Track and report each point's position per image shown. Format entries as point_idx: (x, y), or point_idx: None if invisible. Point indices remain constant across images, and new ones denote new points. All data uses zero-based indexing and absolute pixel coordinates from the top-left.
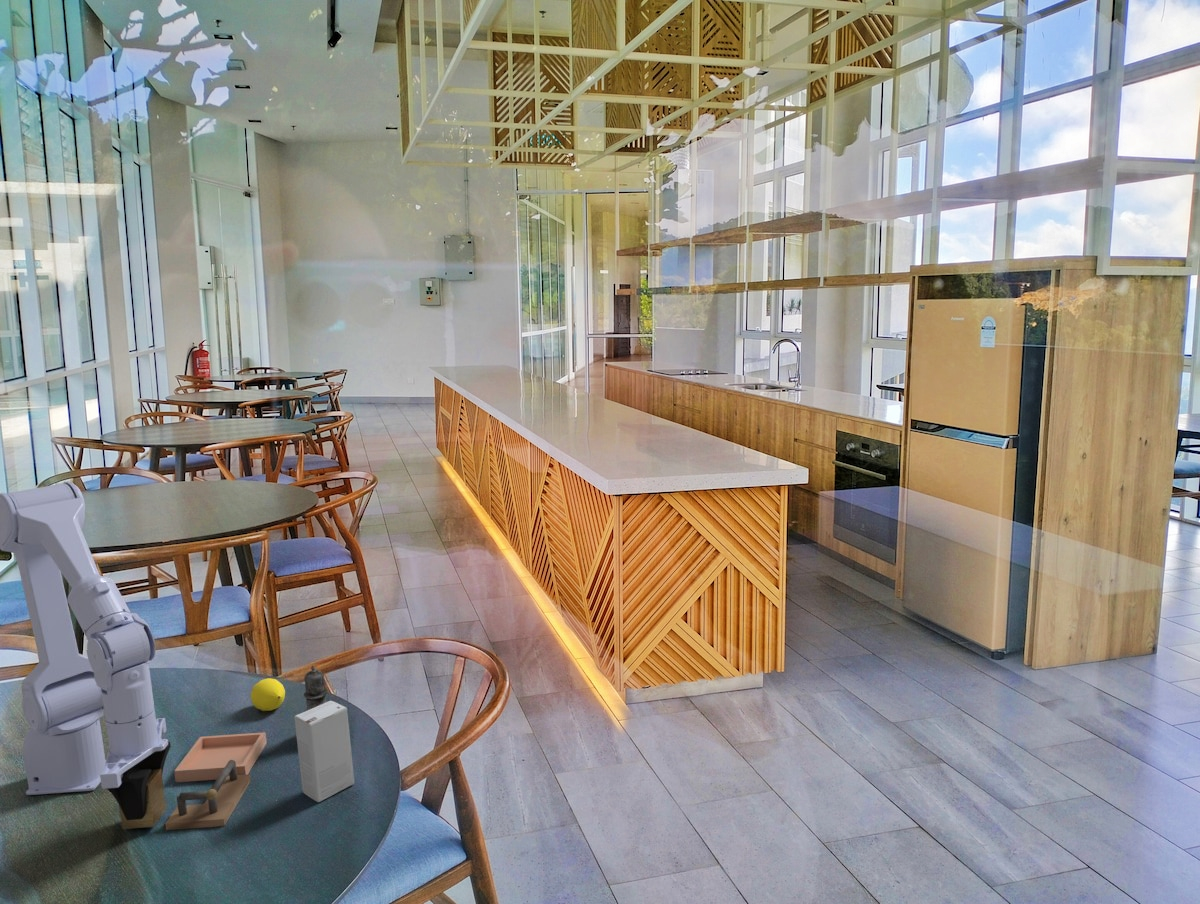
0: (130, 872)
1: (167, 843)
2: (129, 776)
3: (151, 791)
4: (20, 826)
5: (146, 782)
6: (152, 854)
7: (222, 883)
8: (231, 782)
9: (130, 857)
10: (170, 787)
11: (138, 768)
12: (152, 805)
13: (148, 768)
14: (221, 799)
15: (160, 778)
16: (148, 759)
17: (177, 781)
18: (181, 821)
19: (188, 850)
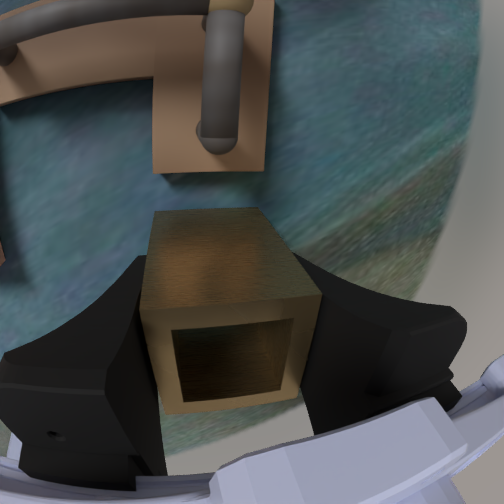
0: (410, 192)
1: (325, 138)
2: (445, 379)
3: (278, 267)
4: (197, 440)
5: (352, 305)
6: (363, 164)
7: (463, 10)
8: (26, 47)
9: (360, 215)
10: (26, 262)
11: (153, 401)
12: (267, 236)
13: (144, 367)
14: (134, 23)
15: (162, 279)
16: (141, 408)
17: (3, 256)
18: (262, 117)
19: (368, 72)
